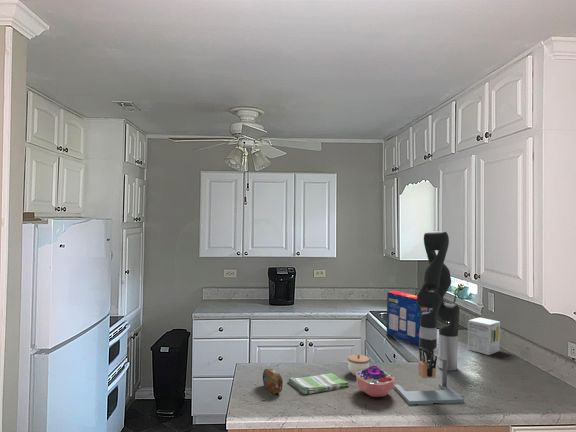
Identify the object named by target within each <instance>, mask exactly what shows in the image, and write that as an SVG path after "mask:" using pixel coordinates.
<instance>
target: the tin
mask: <svg viewBox="0 0 576 432" xmlns="http://www.w3.org/2000/svg"><path fill="white" fill-rule="evenodd" d="M262 372H263V373H262V381H263V382H262V383H263V387H265V388H266V389H267V390H268V391H269V392H271V393H272V394H273V395H276V394H280V393H281V392H282V391H283V383H284V382H283V377H282V375H281V374H280V373H279V372H277V371H276V370H274V369H273V368H265V369H263V371H262Z"/></svg>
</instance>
